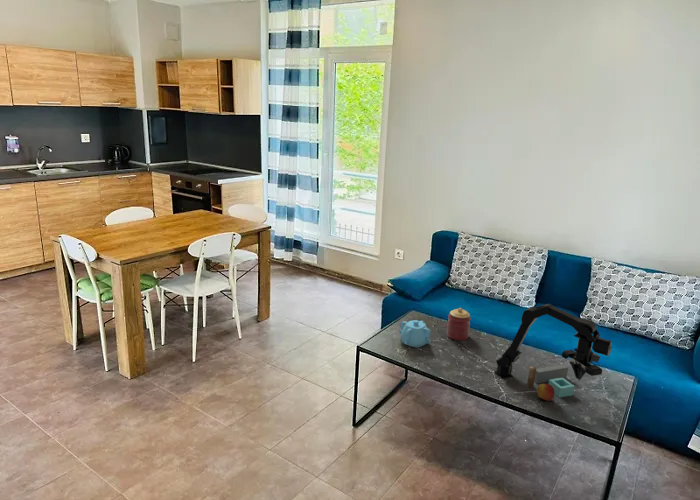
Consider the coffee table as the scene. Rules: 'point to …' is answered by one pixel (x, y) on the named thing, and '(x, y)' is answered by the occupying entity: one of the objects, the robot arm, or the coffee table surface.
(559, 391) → the holed block
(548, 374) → the wall
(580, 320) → the robot arm
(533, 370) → the dowel
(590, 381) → the coffee table surface
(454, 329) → the canister
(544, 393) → the apple
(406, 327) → the decorative pot
